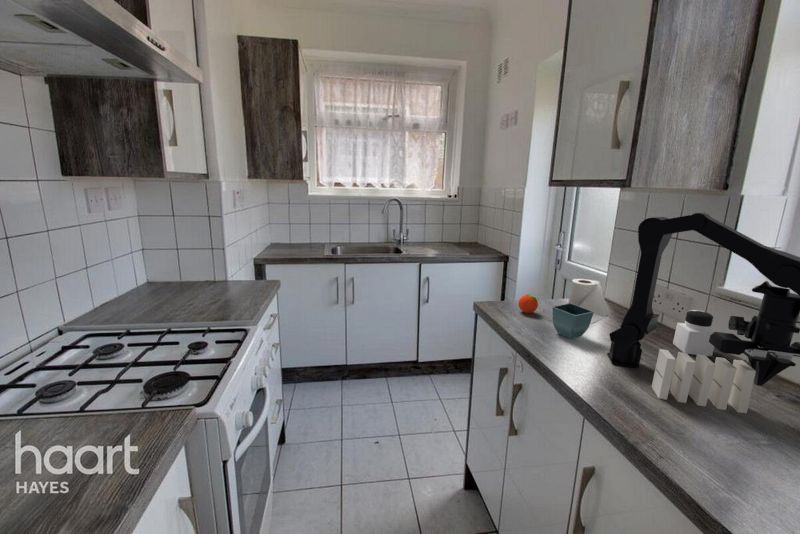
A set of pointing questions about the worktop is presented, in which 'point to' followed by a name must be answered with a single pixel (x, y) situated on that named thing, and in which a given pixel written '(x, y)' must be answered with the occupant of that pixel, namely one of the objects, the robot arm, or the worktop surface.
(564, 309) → the flower pot
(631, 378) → the worktop surface
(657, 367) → the domino
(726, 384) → the domino
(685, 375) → the domino
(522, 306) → the clementine
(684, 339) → the medicine bottle
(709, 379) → the domino
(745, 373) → the domino
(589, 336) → the worktop surface
